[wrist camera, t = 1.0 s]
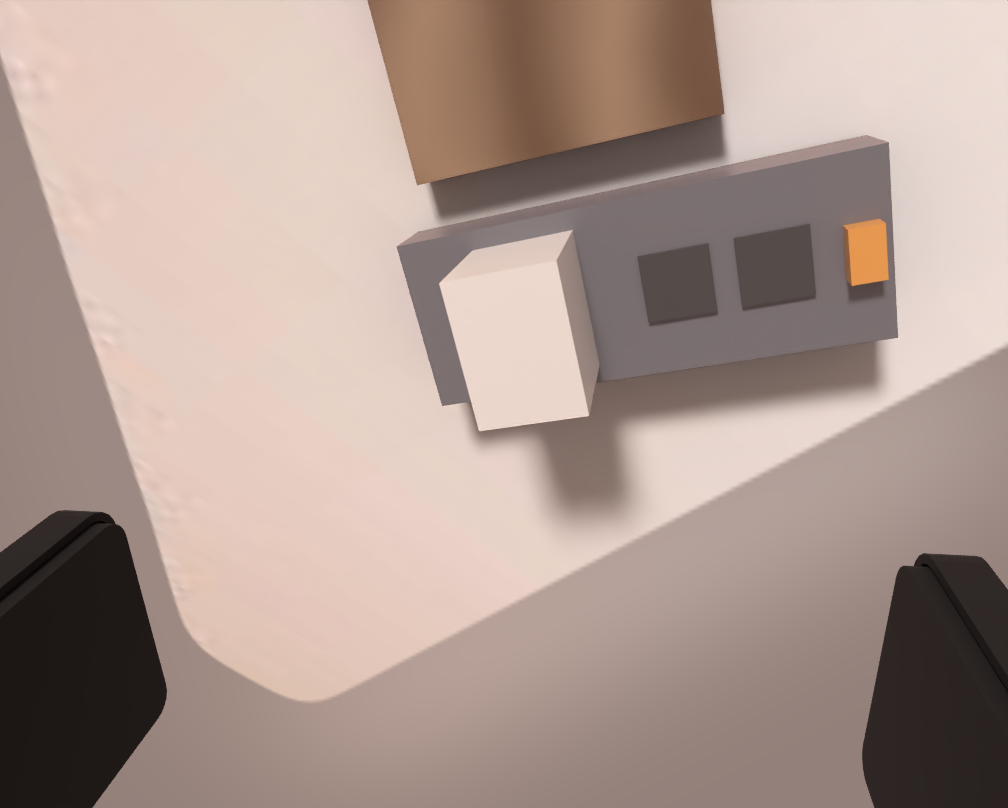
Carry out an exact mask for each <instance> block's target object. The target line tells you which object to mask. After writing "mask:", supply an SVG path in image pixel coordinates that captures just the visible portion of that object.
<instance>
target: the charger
mask: <svg viewBox="0 0 1008 808" xmlns="http://www.w3.org/2000/svg"><path fill="white" fill-rule="evenodd" d="M439 285H440V289H441V292H442V296H443V300H444V303H445V307H446V311H447V315H448V318H449V322H450V326H451V329H452V333H453V337H454V340H455V344H456V348H457V352H458V355H459V359H460V363H461V366H462V370H463V374H464V377H465V381H466V385H467V388H468V392H469V396H470V400H471V403H472V407H473V411H474V414H475V418H476V422H477V425H478V429H479V431H485V430H492V429H499V428H506V427H514V426H521V425H528V424H535V423H543V422H550V421H557V420H564V419H571V418H579V417H586V416H589V415H590V410H591V405H592V400H593V395H594V390H595V385H596V380H597V375H598V370H599V365H600V364H599V359H598V354H597V349H596V344H595V339H594V334H593V329H592V324H591V319H590V314H589V309H588V304H587V299H586V294H585V289H584V284H583V279H582V274H581V269H580V264H579V259H578V254H577V249H576V244H575V239H574V234H573V230H570V231H565V232H560V233H556V234H551V235H546V236H541V237H536V238H531V239H526V240H521V241H516V242H512V243H507V244H502V245H497V246H492V247H487V248H482V249H477V250H473V251H472V252H470V253H469V254H468V255H467V256H466V257H465V258H464V259H463V260H462V261H461V262H460V263H459V264H458V265H457V266H456V267H455V268H454V269H453V270H452V271H451V272H450V273H449V274H448V275H447V276H446V277H445V278H444V279H443V280H442V281H441V282H440V283H439Z"/></svg>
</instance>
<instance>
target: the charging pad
mask: <svg viewBox="0 0 1008 808" xmlns="http://www.w3.org/2000/svg"><path fill="white" fill-rule="evenodd" d="M368 4H369V7H370V11H371V15H372V19H373V22H374V26H375V30H376V33H377V37H378V41H379V45H380V48H381V52H382V56H383V60H384V63H385V67H386V71H387V74H388V78H389V82H390V86H391V89H392V93H393V97H394V101H395V104H396V108H397V112H398V115H399V119H400V123H401V127H402V130H403V134H404V138H405V142H406V145H407V149H408V153H409V156H410V160H411V164H412V168H413V171H414V175H415V179H416V183H417V185H420V184H425V183H429V182H433V181H437V180H442V179H446V178H450V177H455V176H459V175H463V174H467V173H472V172H476V171H480V170H485V169H489V168H493V167H498V166H502V165H506V164H510V163H515V162H519V161H523V160H528V159H532V158H536V157H540V156H545V155H549V154H553V153H558V152H562V151H566V150H571V149H575V148H579V147H583V146H588V145H592V144H596V143H601V142H605V141H609V140H613V139H618V138H622V137H626V136H631V135H635V134H639V133H644V132H648V131H652V130H656V129H661V128H665V127H669V126H674V125H678V124H682V123H686V122H691V121H695V120H699V119H704V118H708V117H712V116H717V115H721V114H724V107H723V98H722V90H721V82H720V74H719V65H718V57H717V49H716V41H715V32H714V24H713V16H712V8H711V0H368Z"/></svg>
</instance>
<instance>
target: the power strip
mask: <svg viewBox="0 0 1008 808" xmlns="http://www.w3.org/2000/svg"><path fill="white" fill-rule="evenodd" d="M570 230H573V234H574V239H575V244H576V249H577V254H578V259H579V264H580V269H581V274H582V279H583V284H584V289H585V294H586V299H587V304H588V309H589V314H590V319H591V324H592V329H593V334H594V339H595V344H596V349H597V354H598V359H599V364H600V365H599V370H598V375H597V380H596V383H598V382H605V381H611V380H618V379H625V378H631V377H638V376H645V375H651V374H658V373H665V372H671V371H678V370H685V369H691V368H698V367H705V366H712V365H718V364H725V363H732V362H738V361H745V360H752V359H758V358H765V357H772V356H778V355H785V354H792V353H798V352H805V351H812V350H818V349H825V348H832V347H838V346H845V345H852V344H858V343H865V342H872V341H878V340H885V339H892V338H898V328H897V307H896V286H895V265H894V244H893V223H892V202H891V181H890V160H889V142H886V141H883V140H880V139H877V138H874V137H871V136H868V135H865V136H861V137H856V138H852V139H847V140H842V141H838V142H833V143H828V144H824V145H819V146H814V147H810V148H805V149H801V150H796V151H791V152H787V153H782V154H777V155H773V156H768V157H763V158H759V159H754V160H749V161H745V162H740V163H736V164H731V165H726V166H722V167H717V168H712V169H708V170H703V171H698V172H694V173H689V174H685V175H680V176H675V177H671V178H666V179H661V180H657V181H652V182H647V183H643V184H638V185H633V186H629V187H624V188H620V189H615V190H610V191H606V192H601V193H596V194H592V195H587V196H582V197H578V198H573V199H569V200H564V201H559V202H555V203H550V204H545V205H541V206H536V207H531V208H527V209H522V210H517V211H513V212H508V213H504V214H499V215H494V216H490V217H485V218H480V219H476V220H471V221H466V222H462V223H457V224H453V225H448V226H443V227H439V228H434V229H429V230H425V231H420V232H417V233H416V234H414V235H413V236H412V237H410V238H409V239H407V240H406V241H404V242H403V243H401V244H400V245H398V246H397V249H398V253H399V256H400V260H401V263H402V267H403V270H404V274H405V277H406V281H407V284H408V288H409V291H410V295H411V298H412V302H413V305H414V309H415V312H416V316H417V319H418V323H419V326H420V330H421V333H422V337H423V340H424V344H425V347H426V351H427V354H428V358H429V361H430V365H431V368H432V372H433V375H434V379H435V382H436V386H437V389H438V393H439V396H440V400H441V403H442V406H444V405H451V404H458V403H464V402H471V400H470V396H469V392H468V388H467V385H466V381H465V377H464V374H463V370H462V366H461V363H460V359H459V355H458V352H457V348H456V344H455V340H454V337H453V333H452V329H451V326H450V322H449V318H448V315H447V311H446V307H445V303H444V300H443V296H442V292H441V289H440V285H439V283H440V282H441V281H442V280H443V279H444V278H445V277H446V276H447V275H448V274H449V273H450V272H451V271H452V270H453V269H454V268H455V267H456V266H457V265H458V264H459V263H460V262H461V261H462V260H463V259H464V258H465V257H466V256H467V255H468V254H469V253H470V252H472V251H473V250H477V249H482V248H487V247H492V246H497V245H502V244H507V243H512V242H516V241H521V240H526V239H531V238H536V237H541V236H546V235H551V234H556V233H560V232H565V231H570Z"/></svg>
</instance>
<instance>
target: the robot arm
mask: <svg viewBox="0 0 1008 808" xmlns="http://www.w3.org/2000/svg"><path fill="white" fill-rule="evenodd" d="M166 695H167V688H166V683H165V679H164V675H163V672H162V668H161V664H160V660H159V657H158V653H157V649H156V645H155V642H154V638H153V634H152V631H151V627H150V623H149V619H148V615H147V612H146V608H145V604H144V601H143V597H142V593H141V589H140V585H139V582H138V578H137V574H136V570H135V567H134V563H133V559H132V555H131V552H130V548H129V544H128V541H127V537H126V534H125V532H124V530H123V529H122V527H121V526H119V525H116V524H115V522H114V520H113V519H112V518H111V517H110V515H108V514H106V513H103V512H89V511H69V510H63V511H57V512H55V513H53V514H51V515H50V516H48V517H47V518H46V519H44V520H43V521H42V522H40V523H39V524H38V525H36V526H35V527H34V528H33V529H31V530H30V531H29V532H27V533H26V534H24V535H23V536H22V537H20V538H19V539H18V540H16V541H15V542H14V543H12V544H11V545H10V546H8V547H7V548H6V549H4V550H3V551H2V552H0V808H92V807H93V806H94V805H95V803H96V802H97V801H98V799H99V798H100V797H101V795H102V794H103V792H104V791H105V790H106V788H107V787H108V786H109V784H110V783H111V782H112V780H113V779H114V778H115V776H116V775H117V773H118V772H119V771H120V769H121V768H122V767H123V765H124V764H125V762H126V761H127V760H128V759H129V757H130V756H131V754H132V753H133V752H134V750H135V749H136V748H137V746H138V745H139V744H140V742H141V741H142V740H143V738H144V737H145V735H146V734H147V733H148V731H149V730H150V729H151V727H152V726H153V725H154V723H155V722H156V721H157V719H158V718H159V716H160V714H161V713H162V710H163V708H164V705H165V701H166ZM862 761H863V770H864V776H865V780H866V784H867V787H868V790H869V793H870V796H871V799H872V802H873V805H874V808H1008V589H1007V588H1006V587H1005V585H1004V584H1003V583H1002V582H1001V580H1000V579H999V578H998V576H997V575H996V574H995V572H994V571H993V570H992V568H991V567H990V566H989V564H988V563H987V562H986V561H985V560H984V559H983V558H981V557H978V556H965V555H945V554H925V553H923V554H922V555H920V556H919V557H918V558H917V560H916V561H915V564H914V566H902V567H900V569H899V571H898V573H897V576H896V581H895V586H894V591H893V596H892V601H891V606H890V612H889V616H888V621H887V626H886V632H885V637H884V642H883V647H882V652H881V657H880V662H879V667H878V672H877V678H876V682H875V687H874V692H873V697H872V703H871V708H870V713H869V718H868V723H867V728H866V733H865V738H864V743H863V751H862Z"/></svg>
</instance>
